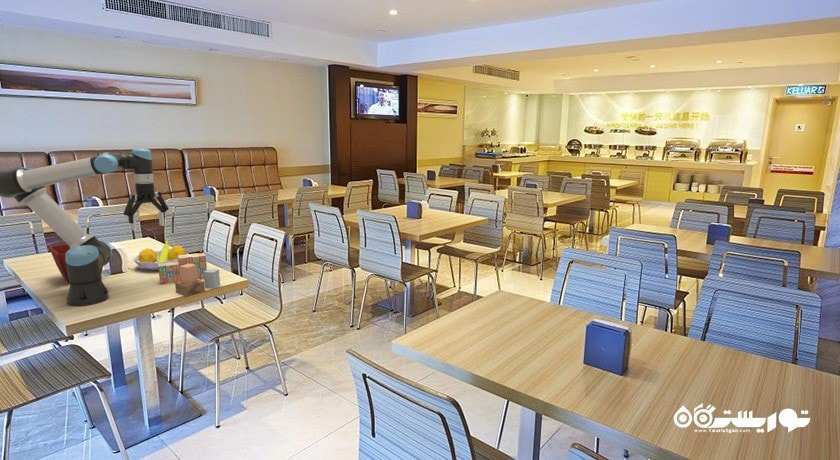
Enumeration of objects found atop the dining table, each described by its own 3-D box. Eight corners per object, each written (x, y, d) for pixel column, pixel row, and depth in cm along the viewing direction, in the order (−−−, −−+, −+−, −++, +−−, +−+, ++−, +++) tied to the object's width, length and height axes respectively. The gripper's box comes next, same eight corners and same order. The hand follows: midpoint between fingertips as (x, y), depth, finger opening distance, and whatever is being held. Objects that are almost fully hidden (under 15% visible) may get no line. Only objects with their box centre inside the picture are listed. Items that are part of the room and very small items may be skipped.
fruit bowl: (174, 274, 245) (172, 253, 242) (123, 273, 245) (120, 252, 243) (200, 259, 272) (198, 240, 269) (154, 258, 272) (152, 239, 270)
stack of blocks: (160, 284, 228) (157, 260, 225) (159, 281, 233) (157, 257, 231) (207, 278, 239) (205, 255, 236) (206, 275, 244) (204, 252, 241)
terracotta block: (189, 284, 215) (188, 267, 213) (181, 282, 217) (179, 266, 215) (197, 280, 220) (196, 264, 218) (189, 279, 221) (187, 263, 220)
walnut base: (186, 296, 213) (185, 286, 212) (176, 292, 218) (175, 282, 217) (204, 291, 220) (204, 281, 219) (194, 287, 225) (193, 277, 224)
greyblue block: (214, 288, 224) (213, 272, 222) (204, 287, 225) (203, 271, 223) (220, 285, 229) (218, 269, 227) (210, 284, 229) (209, 268, 228)
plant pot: (62, 287, 221) (57, 253, 218) (54, 278, 234) (48, 246, 230) (109, 279, 235) (105, 246, 232) (98, 270, 248) (94, 240, 244)
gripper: (121, 185, 203) (126, 233, 207) (174, 181, 225) (177, 224, 229) (111, 184, 206) (116, 231, 211) (164, 180, 228) (167, 222, 232)
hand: (148, 227), depth 220 cm, fingers open, 13 cm apart
